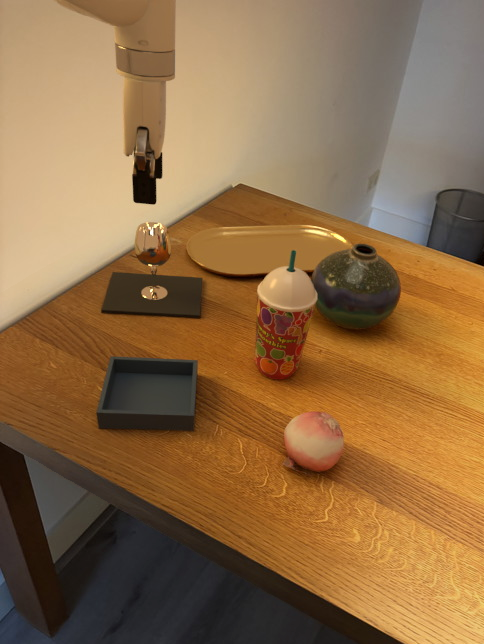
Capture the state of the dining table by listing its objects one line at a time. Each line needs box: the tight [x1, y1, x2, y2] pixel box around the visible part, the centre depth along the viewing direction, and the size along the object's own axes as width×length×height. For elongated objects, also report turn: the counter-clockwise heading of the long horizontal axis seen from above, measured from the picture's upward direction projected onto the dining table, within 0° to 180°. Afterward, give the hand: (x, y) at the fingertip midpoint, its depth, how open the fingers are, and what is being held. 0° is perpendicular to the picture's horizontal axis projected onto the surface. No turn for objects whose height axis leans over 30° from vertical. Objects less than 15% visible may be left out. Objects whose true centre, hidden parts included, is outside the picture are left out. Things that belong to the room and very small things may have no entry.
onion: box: [282, 410, 345, 477], centre depth 68 cm, size 8×8×7 cm
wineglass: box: [134, 221, 172, 300], centre depth 90 cm, size 6×6×12 cm
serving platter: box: [185, 224, 354, 278], centre depth 110 cm, size 19×35×2 cm, turn 108°
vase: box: [310, 243, 402, 331], centre depth 93 cm, size 15×15×13 cm
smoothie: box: [254, 250, 317, 381], centre depth 77 cm, size 8×8×20 cm
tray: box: [96, 355, 199, 432], centre depth 74 cm, size 12×11×3 cm
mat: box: [100, 271, 204, 319], centre depth 94 cm, size 16×12×1 cm
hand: (148, 189), depth 82 cm, fingers open, 9 cm apart
